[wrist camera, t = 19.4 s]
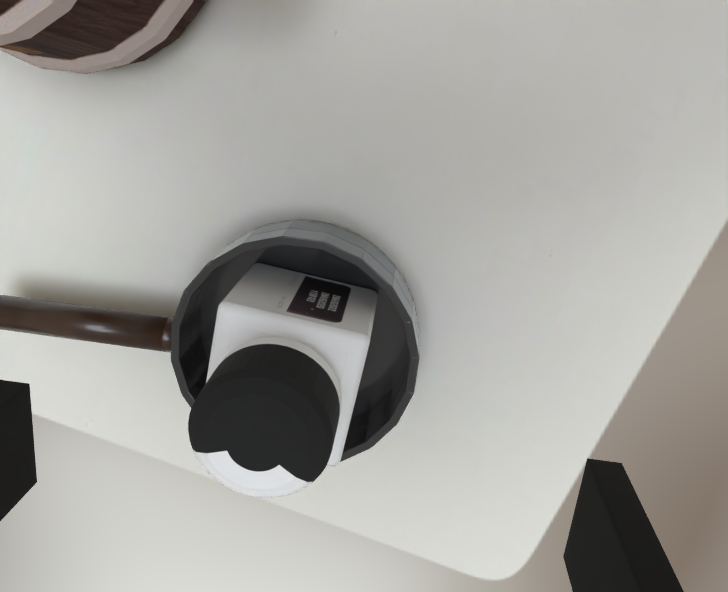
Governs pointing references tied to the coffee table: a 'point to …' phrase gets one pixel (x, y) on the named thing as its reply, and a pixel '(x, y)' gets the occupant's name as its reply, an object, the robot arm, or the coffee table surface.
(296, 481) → the container
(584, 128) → the coffee table surface
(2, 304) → the pan handle
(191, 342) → the pan
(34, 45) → the mug
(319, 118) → the coffee table surface
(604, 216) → the coffee table surface
